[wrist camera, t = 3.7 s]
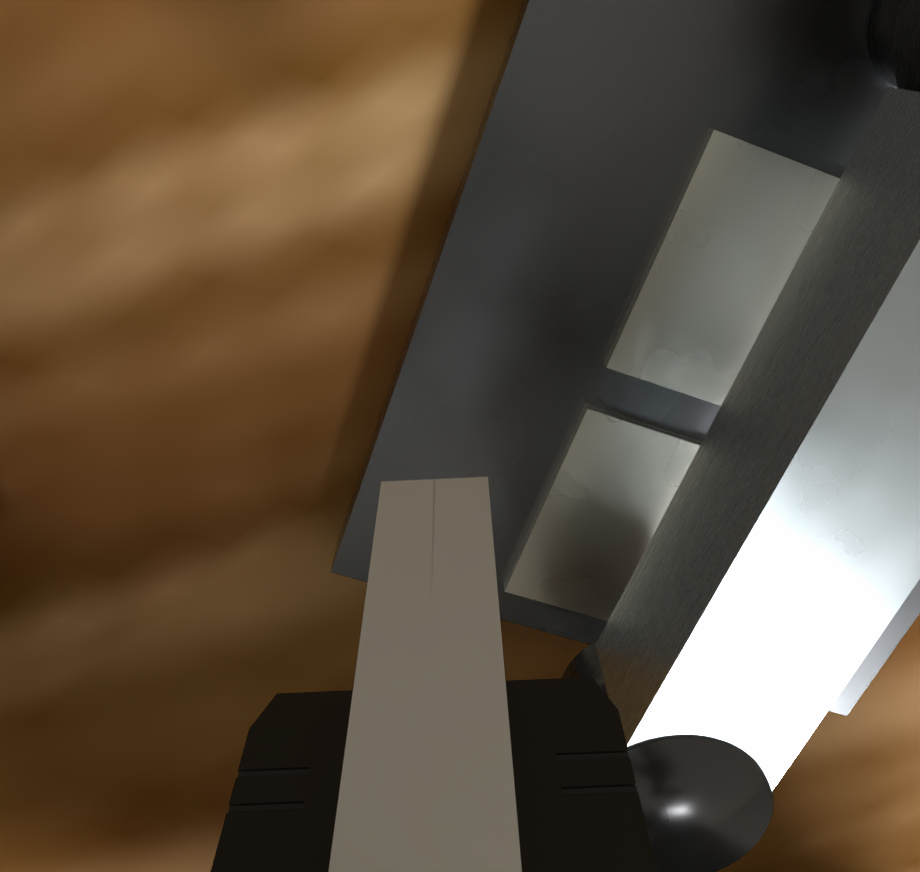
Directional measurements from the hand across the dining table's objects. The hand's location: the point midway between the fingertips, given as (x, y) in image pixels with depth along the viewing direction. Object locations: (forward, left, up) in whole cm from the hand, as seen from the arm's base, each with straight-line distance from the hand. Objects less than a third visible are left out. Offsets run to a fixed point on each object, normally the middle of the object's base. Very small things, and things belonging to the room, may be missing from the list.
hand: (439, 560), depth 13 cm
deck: (+3, -6, -8) cm, 10 cm away
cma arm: (+3, -6, -4) cm, 8 cm away
